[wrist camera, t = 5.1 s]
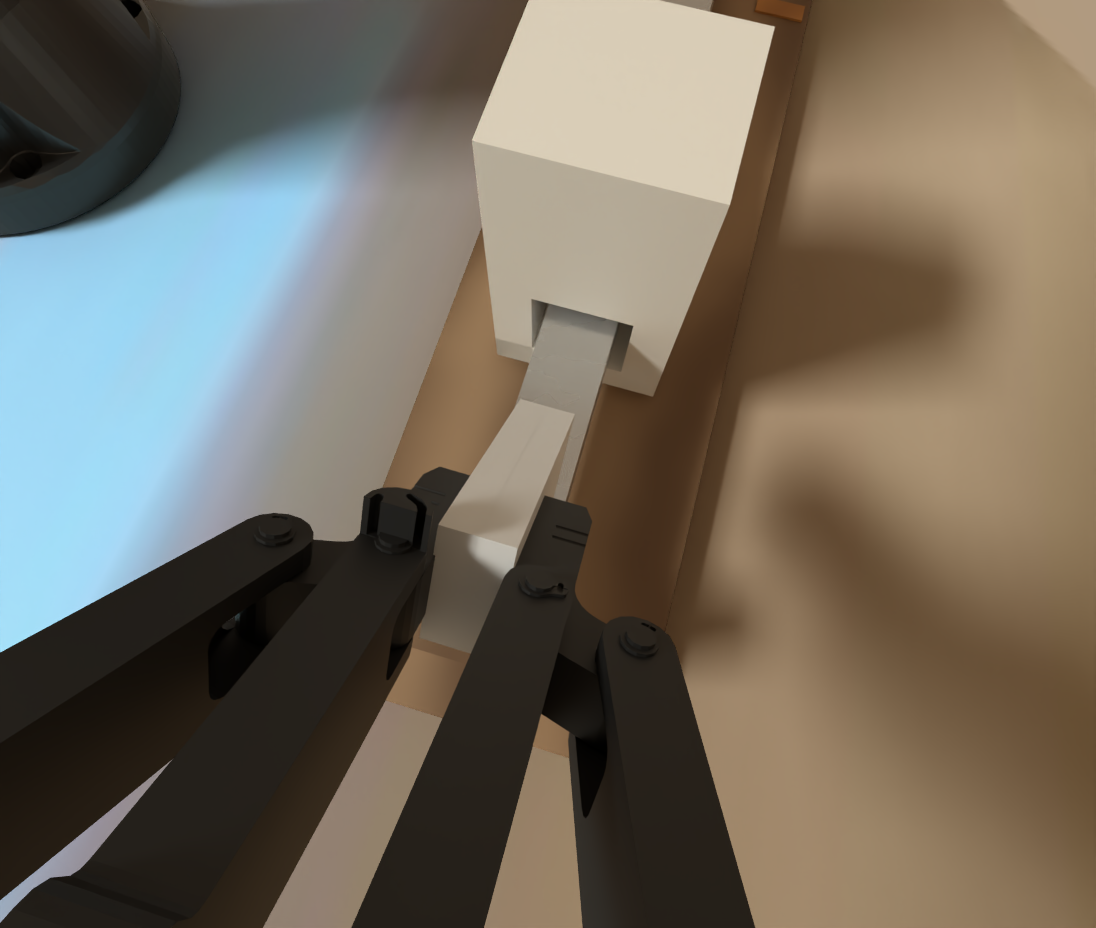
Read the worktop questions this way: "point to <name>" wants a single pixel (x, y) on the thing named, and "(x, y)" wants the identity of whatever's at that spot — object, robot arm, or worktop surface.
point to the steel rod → (574, 362)
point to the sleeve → (612, 168)
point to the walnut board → (607, 406)
